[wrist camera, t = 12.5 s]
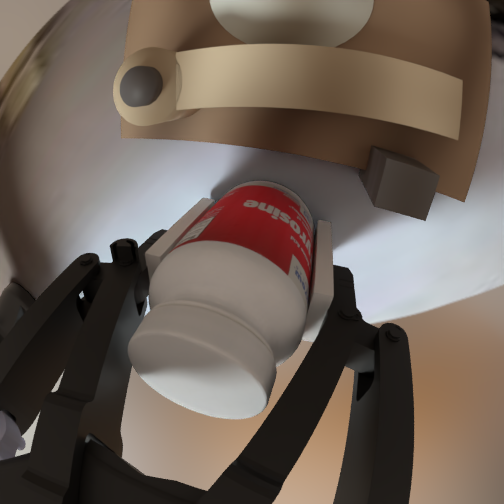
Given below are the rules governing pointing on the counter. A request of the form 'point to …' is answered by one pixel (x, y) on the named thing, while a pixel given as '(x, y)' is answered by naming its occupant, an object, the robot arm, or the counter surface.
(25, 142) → the counter surface
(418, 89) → the leg bar
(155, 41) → the board
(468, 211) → the counter surface
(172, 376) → the pill bottle
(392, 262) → the counter surface
